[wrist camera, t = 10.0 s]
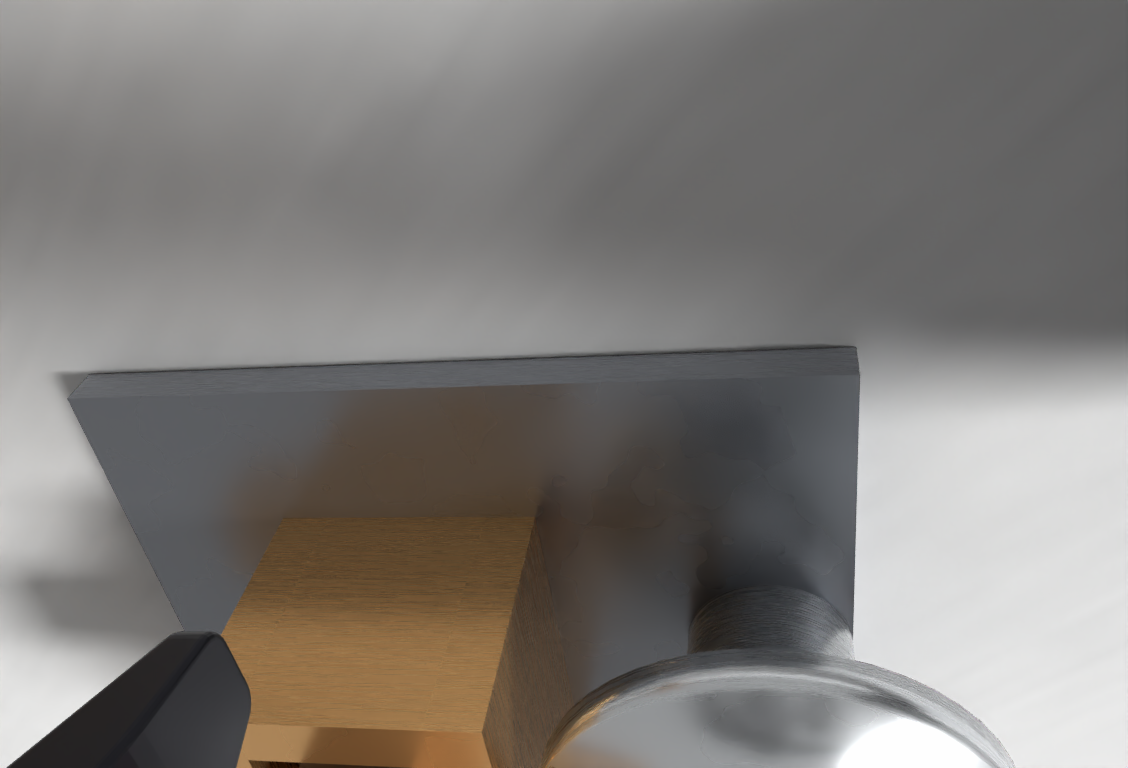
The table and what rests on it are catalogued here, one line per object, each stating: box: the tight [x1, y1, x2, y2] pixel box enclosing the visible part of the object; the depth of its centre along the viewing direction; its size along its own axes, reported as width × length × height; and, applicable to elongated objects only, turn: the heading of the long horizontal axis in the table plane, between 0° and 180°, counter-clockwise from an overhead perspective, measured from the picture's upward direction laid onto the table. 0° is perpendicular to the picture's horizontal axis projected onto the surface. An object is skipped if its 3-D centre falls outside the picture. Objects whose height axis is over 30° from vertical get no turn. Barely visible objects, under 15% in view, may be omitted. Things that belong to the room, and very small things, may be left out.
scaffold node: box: [67, 347, 1016, 768], centre depth 24 cm, size 21×16×9 cm
